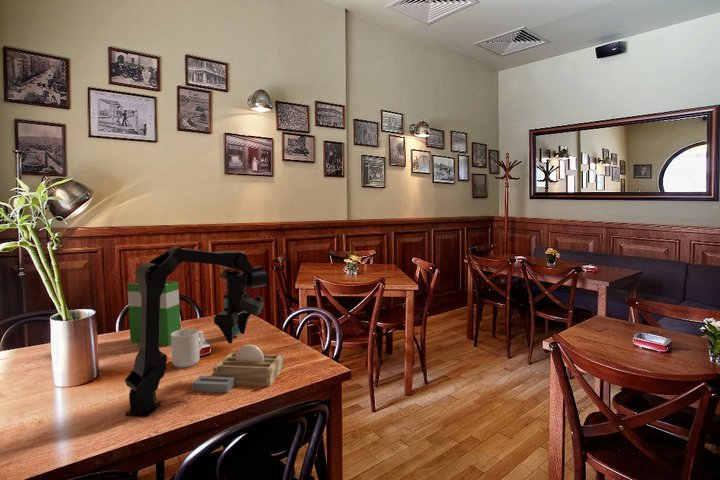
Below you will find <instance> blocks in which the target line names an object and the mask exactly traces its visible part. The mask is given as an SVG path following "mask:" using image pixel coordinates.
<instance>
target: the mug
mask: <svg viewBox="0 0 720 480" xmlns="http://www.w3.org/2000/svg"><path fill="white" fill-rule="evenodd" d="M170 346H171V348H170V349H171V362H172V365H173V366H174V367H176V368H180V369H181V368H183V369H184V368H189V367H193V366H195V365H197V364H198V362H199V361H200V358H201V356H200V351H201V350H202V349H203V347H204V330H198V329H197V328H183V329H182V328H181V330H177V331H174V332H172V333H171V345H170Z"/></svg>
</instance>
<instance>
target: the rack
mask: <svg viewBox="0 0 720 480" xmlns="http://www.w3.org/2000/svg"><path fill="white" fill-rule="evenodd" d="M236 354H237V352H236V351H235V350H234V351H231V352H230V353H229V354H227V356H225V357H224V358H222V360H221V361H220V362H218V363H217V364H216V365H215V366H214V367H213V369H212V370H213V376H215V377H235V385H239V386H243V385H244V386H256V387H257V386H260V387H261V386H262V387H263V386H264V387H271V386H272V384H273V383H274V381H275V380H276V379H277V377H278V376H279V375H280V373H281V372H282V371H283V369H284V368H285V365H284V364H285V363H284V359H285V358H284V353H283V352H280V353H279V354H274V353H270V354H269V353H267V354H266V353H263V356H264V362H243V361H236Z"/></svg>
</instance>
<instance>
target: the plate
mask: <svg viewBox="0 0 720 480" xmlns="http://www.w3.org/2000/svg"><path fill="white" fill-rule="evenodd" d="M236 353H237V354H236V361H243V362H264V356H263V354H264V353H263V352H262V349H261V348H259V346H257V345H255V344H246V345H243V346H241V347H240V348H239V349H238V351H237V352H236Z"/></svg>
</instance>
